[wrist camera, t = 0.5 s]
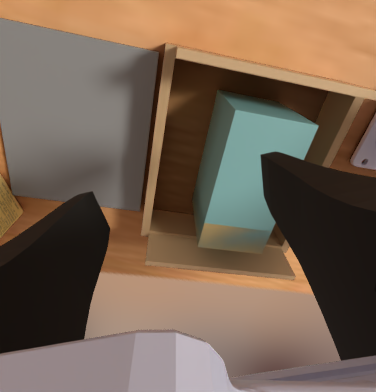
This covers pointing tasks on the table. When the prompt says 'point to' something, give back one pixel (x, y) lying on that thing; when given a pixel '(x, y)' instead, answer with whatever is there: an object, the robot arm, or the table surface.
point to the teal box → (242, 169)
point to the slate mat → (75, 114)
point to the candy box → (7, 207)
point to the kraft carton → (277, 244)
